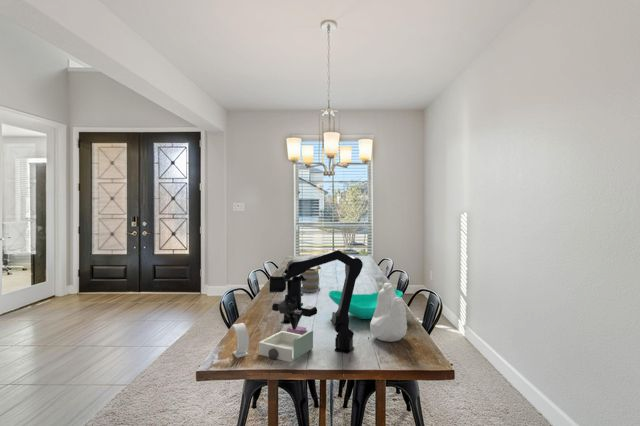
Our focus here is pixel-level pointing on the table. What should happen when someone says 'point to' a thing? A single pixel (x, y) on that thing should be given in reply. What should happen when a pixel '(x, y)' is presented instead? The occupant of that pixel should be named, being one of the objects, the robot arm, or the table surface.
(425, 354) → the table surface
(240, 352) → the headphone stand
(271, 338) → the wagon bed
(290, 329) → the dome-topped mauve block
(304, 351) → the panel
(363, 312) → the table top decor
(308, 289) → the tankard
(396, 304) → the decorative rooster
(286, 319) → the black grey mechanical block
